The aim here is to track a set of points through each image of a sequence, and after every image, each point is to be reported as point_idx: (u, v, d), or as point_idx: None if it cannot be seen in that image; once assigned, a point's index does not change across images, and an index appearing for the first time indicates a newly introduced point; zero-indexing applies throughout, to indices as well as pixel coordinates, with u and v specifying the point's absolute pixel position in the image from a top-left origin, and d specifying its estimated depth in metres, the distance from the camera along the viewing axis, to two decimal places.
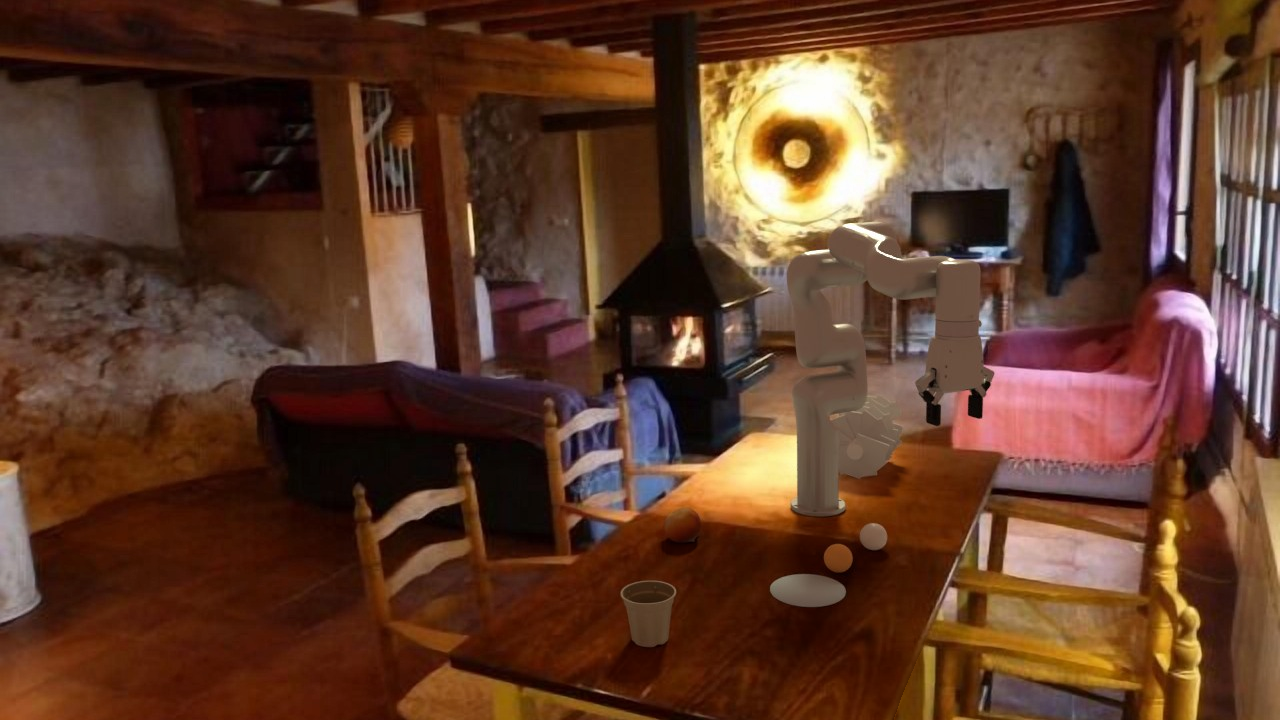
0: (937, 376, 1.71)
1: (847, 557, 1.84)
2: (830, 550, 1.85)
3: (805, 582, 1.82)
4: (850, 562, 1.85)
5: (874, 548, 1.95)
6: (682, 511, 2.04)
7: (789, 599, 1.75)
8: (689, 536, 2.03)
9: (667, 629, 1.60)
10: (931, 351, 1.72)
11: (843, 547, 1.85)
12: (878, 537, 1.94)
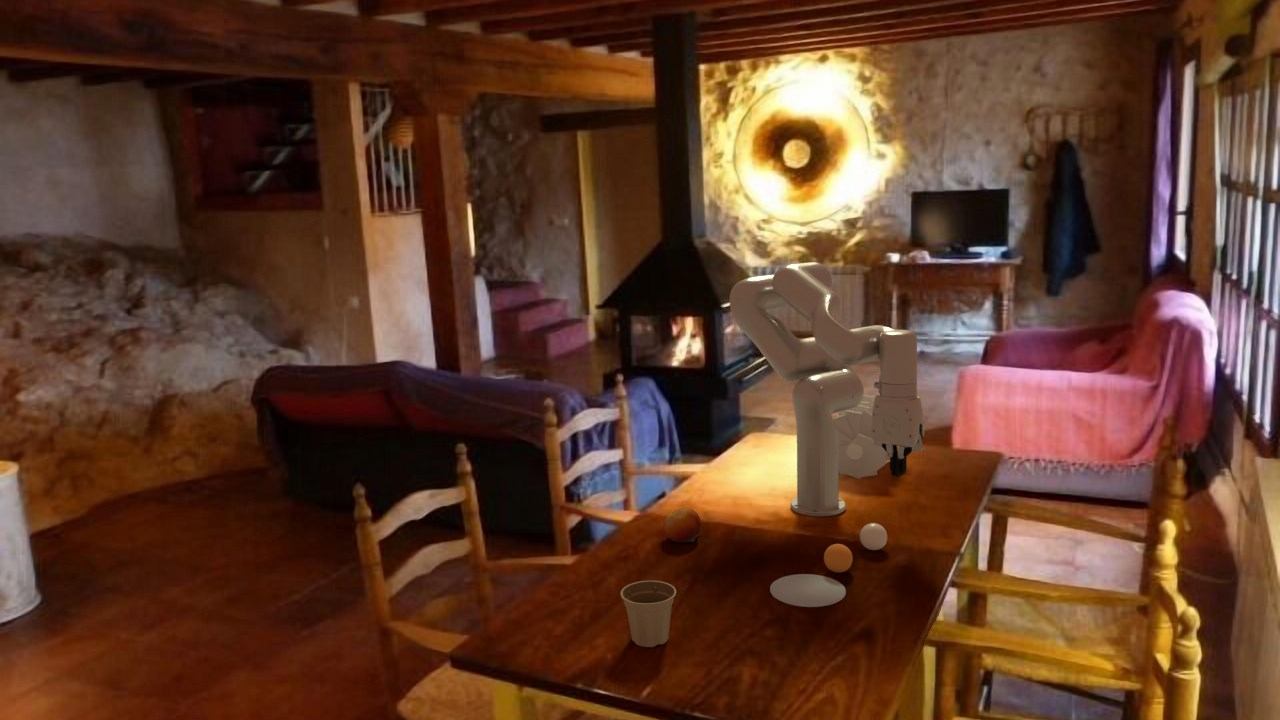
0: (923, 429, 1.96)
1: (847, 557, 1.84)
2: (830, 550, 1.85)
3: (805, 582, 1.82)
4: (850, 562, 1.85)
5: (874, 548, 1.95)
6: (682, 511, 2.04)
7: (789, 599, 1.75)
8: (689, 536, 2.03)
9: (667, 629, 1.60)
10: (917, 411, 1.94)
11: (843, 547, 1.85)
12: (878, 537, 1.94)
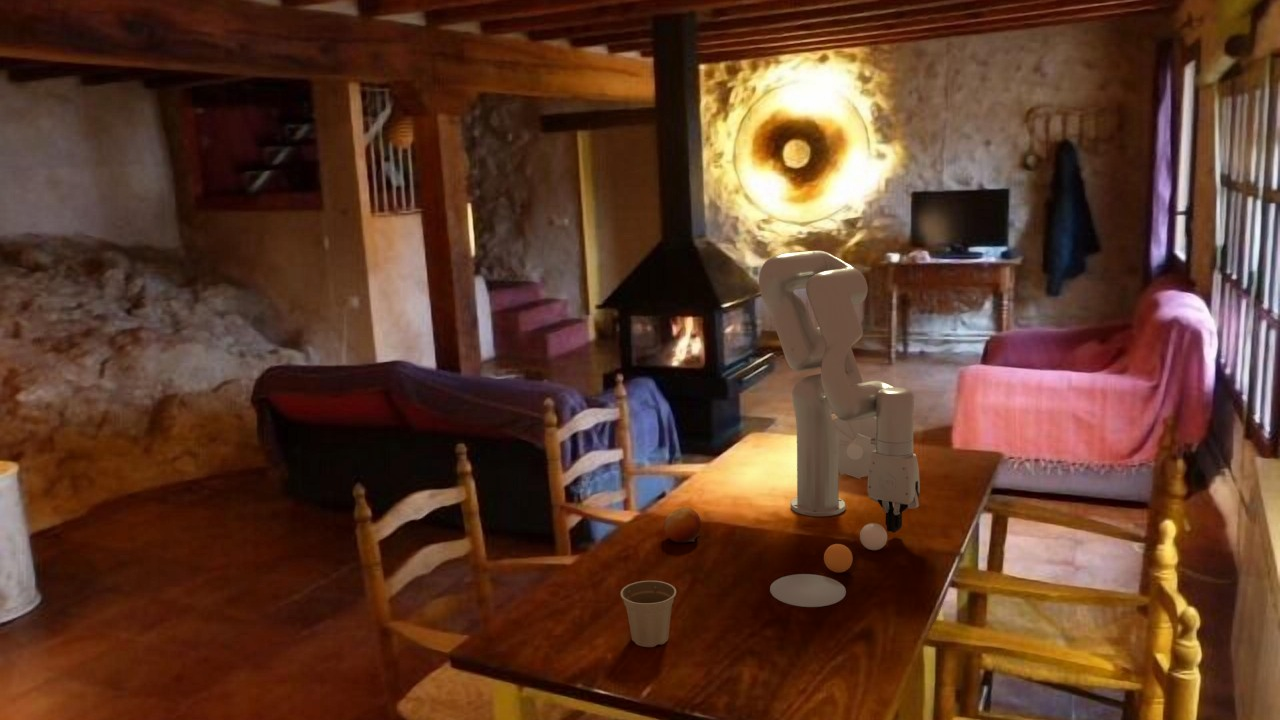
0: (918, 486, 1.98)
1: (847, 557, 1.84)
2: (830, 550, 1.85)
3: (805, 582, 1.82)
4: (850, 562, 1.85)
5: (874, 548, 1.95)
6: (682, 511, 2.04)
7: (789, 599, 1.75)
8: (689, 536, 2.03)
9: (667, 629, 1.60)
10: (914, 469, 1.96)
11: (843, 547, 1.85)
12: (878, 537, 1.94)
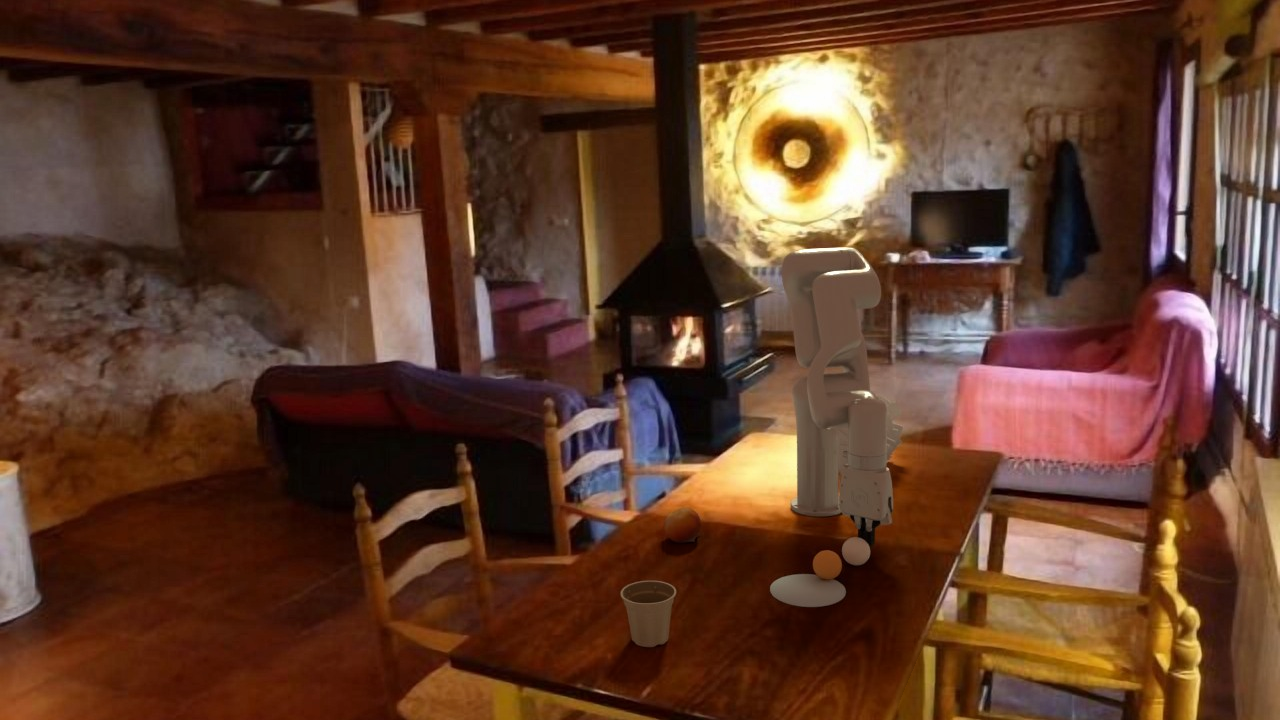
0: (892, 502, 1.90)
1: (835, 573, 1.81)
2: (818, 575, 1.82)
3: (805, 582, 1.82)
4: (840, 568, 1.82)
5: None
6: (682, 511, 2.04)
7: (789, 599, 1.75)
8: (689, 536, 2.03)
9: (667, 629, 1.60)
10: (886, 484, 1.88)
11: (825, 569, 1.81)
12: None
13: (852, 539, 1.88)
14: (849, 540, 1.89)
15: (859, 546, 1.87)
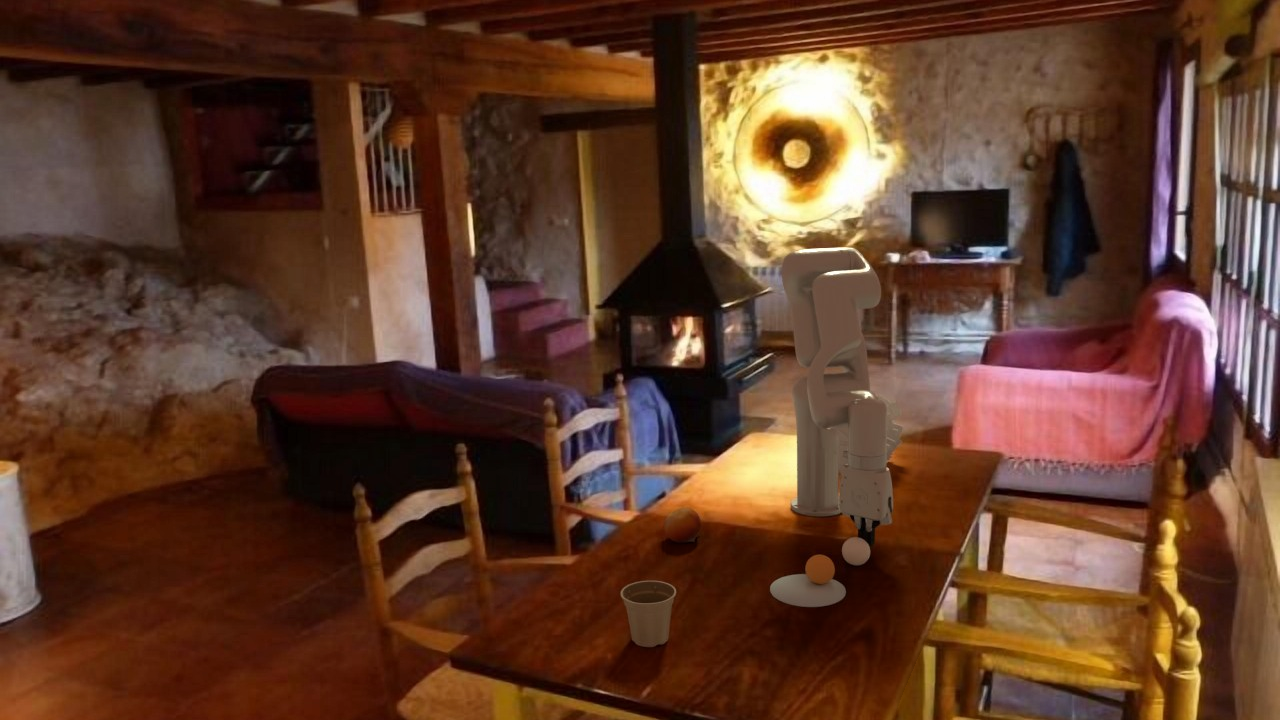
0: (892, 502, 1.90)
1: (831, 578, 1.80)
2: None
3: (805, 582, 1.82)
4: (832, 571, 1.80)
5: None
6: (682, 511, 2.04)
7: (789, 599, 1.75)
8: (689, 536, 2.03)
9: (667, 629, 1.60)
10: (886, 484, 1.88)
11: (820, 582, 1.80)
12: None
13: (852, 539, 1.88)
14: (849, 540, 1.89)
15: (859, 546, 1.87)
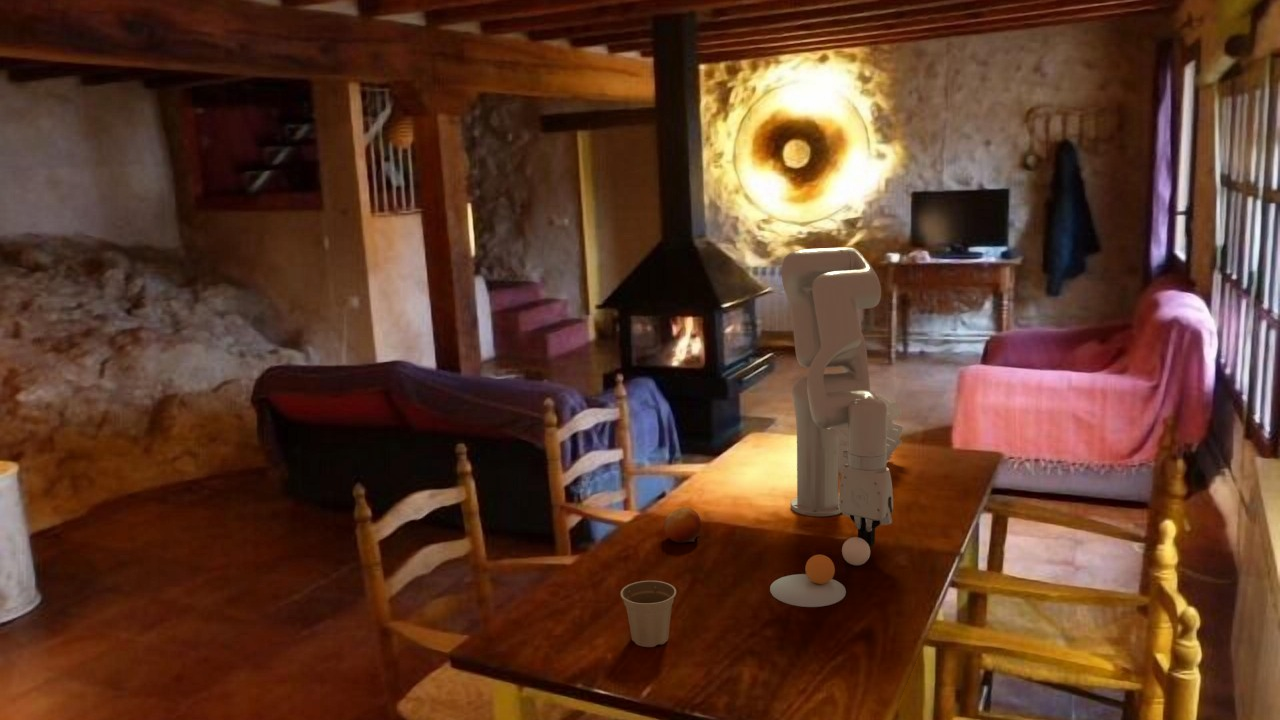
0: (892, 502, 1.90)
1: (831, 578, 1.80)
2: None
3: (805, 582, 1.82)
4: (832, 571, 1.80)
5: None
6: (682, 511, 2.04)
7: (789, 599, 1.75)
8: (689, 536, 2.03)
9: (667, 629, 1.60)
10: (886, 484, 1.88)
11: (820, 582, 1.80)
12: None
13: (852, 539, 1.88)
14: (849, 540, 1.89)
15: (859, 546, 1.87)
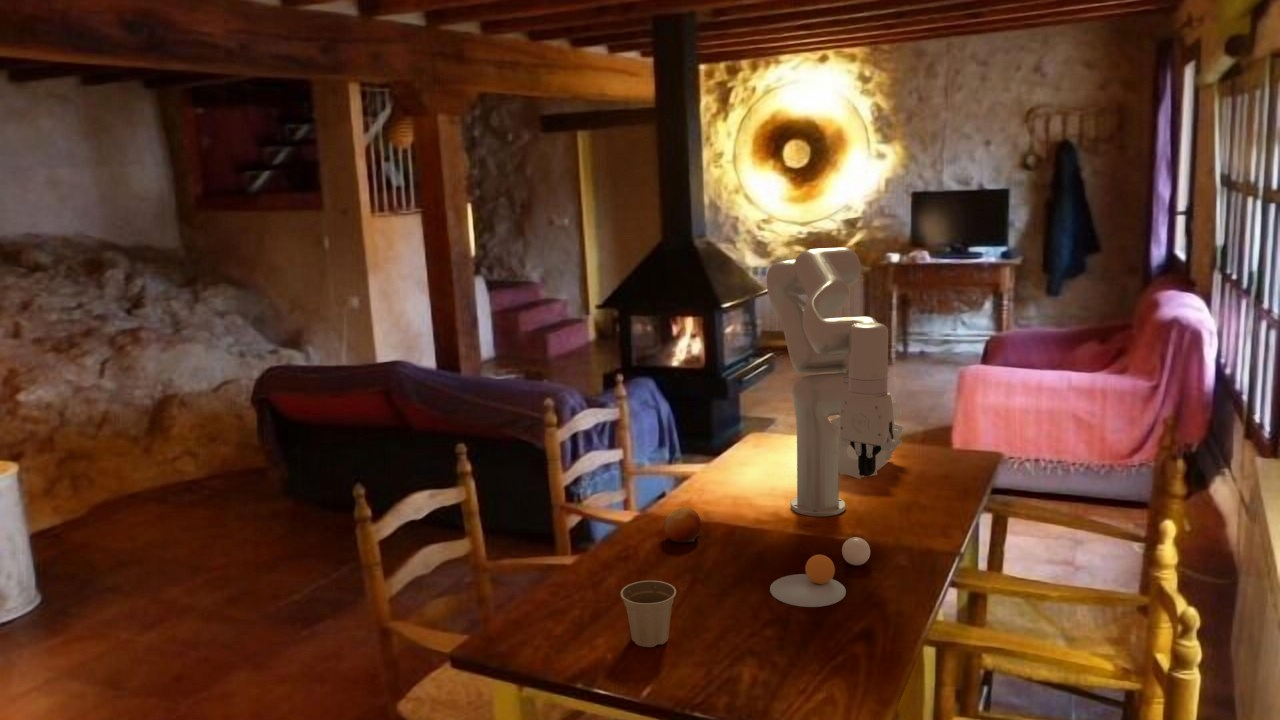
0: (893, 427, 1.87)
1: (831, 578, 1.80)
2: None
3: (805, 582, 1.82)
4: (832, 571, 1.80)
5: None
6: (682, 511, 2.04)
7: (789, 599, 1.75)
8: (689, 536, 2.03)
9: (667, 629, 1.60)
10: (887, 408, 1.85)
11: (820, 582, 1.80)
12: None
13: (852, 539, 1.88)
14: (849, 540, 1.89)
15: (859, 546, 1.87)
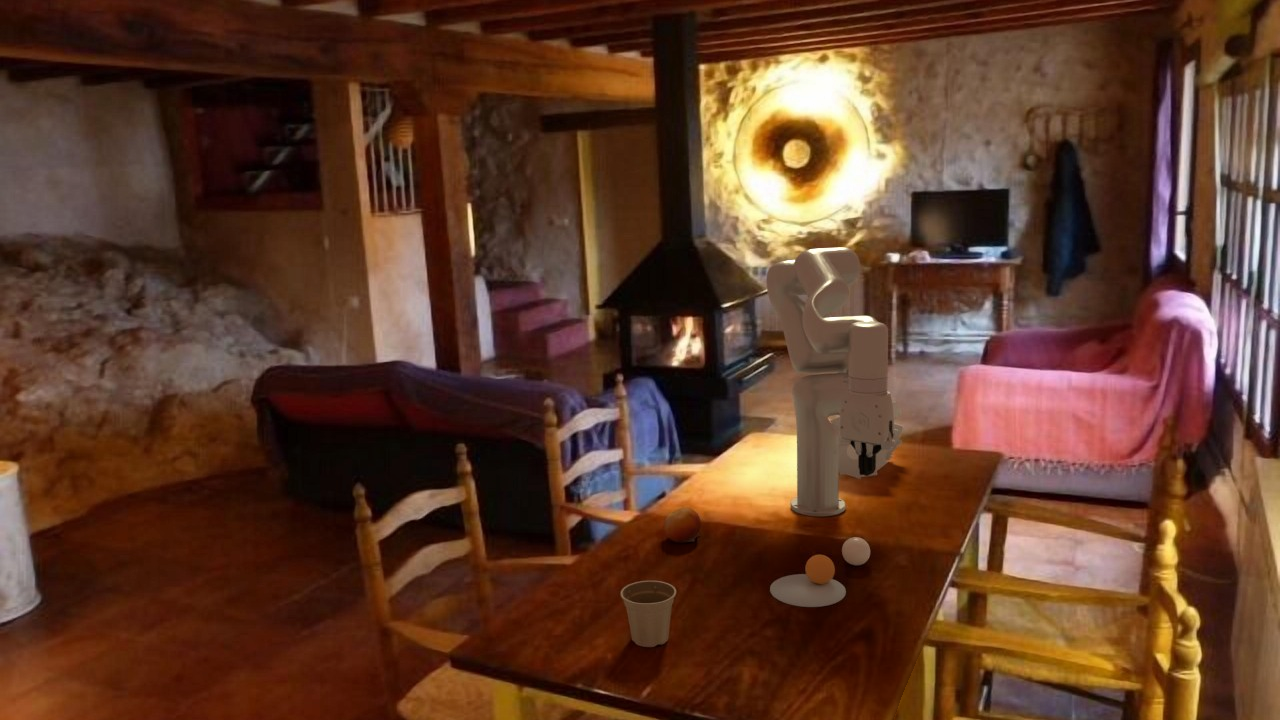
0: (893, 426, 1.87)
1: (831, 578, 1.80)
2: None
3: (805, 582, 1.82)
4: (832, 571, 1.80)
5: None
6: (682, 511, 2.04)
7: (789, 599, 1.75)
8: (689, 536, 2.03)
9: (667, 629, 1.60)
10: (887, 407, 1.85)
11: (820, 582, 1.80)
12: None
13: (852, 539, 1.88)
14: (849, 540, 1.89)
15: (859, 546, 1.87)
